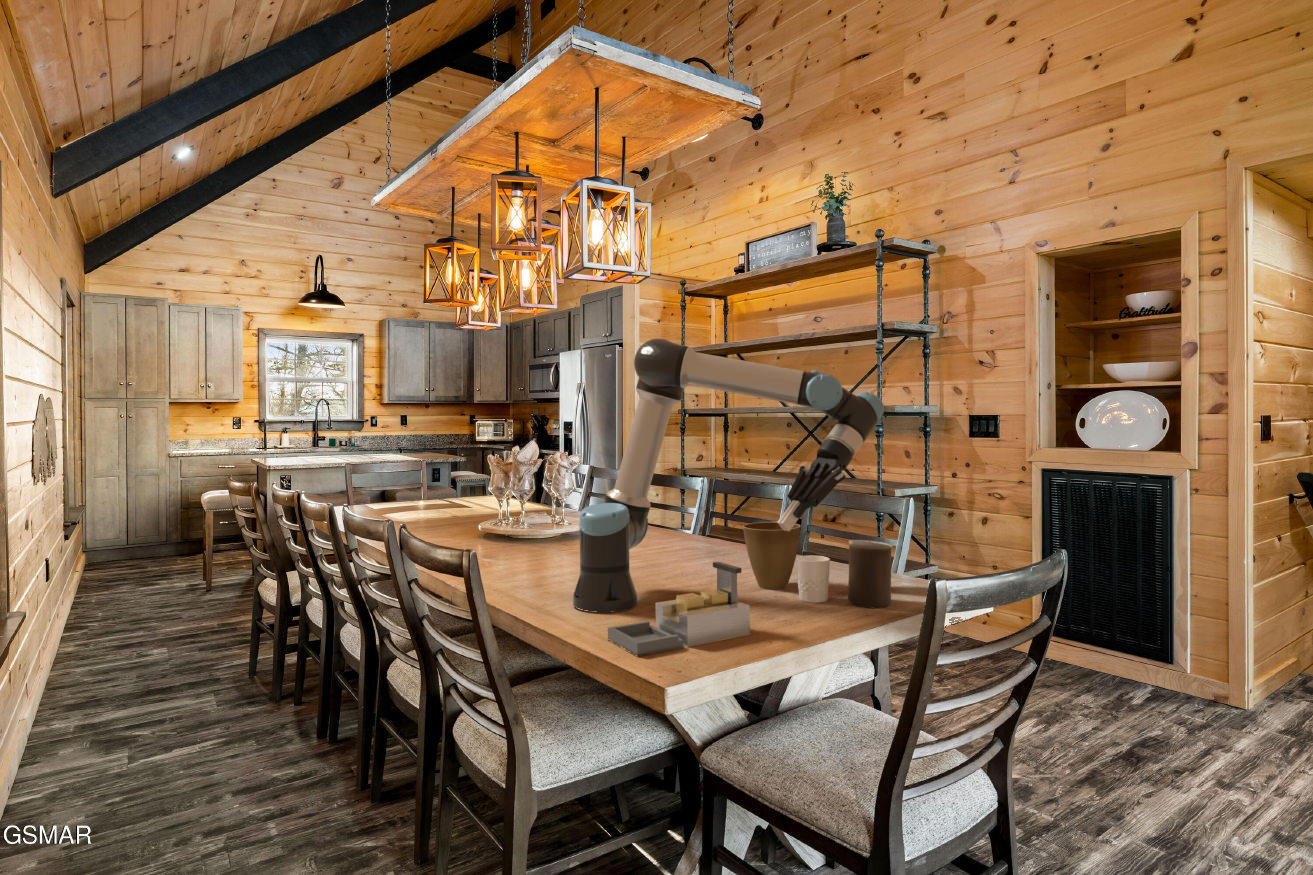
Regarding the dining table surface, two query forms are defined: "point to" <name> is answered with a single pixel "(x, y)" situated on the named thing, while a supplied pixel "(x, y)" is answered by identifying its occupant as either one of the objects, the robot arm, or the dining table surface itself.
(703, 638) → the slotted rail
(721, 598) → the brass chip
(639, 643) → the tray
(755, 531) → the plant pot
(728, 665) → the dining table surface
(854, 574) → the pillar candle
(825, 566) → the white cup
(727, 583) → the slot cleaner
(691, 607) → the brass chip
